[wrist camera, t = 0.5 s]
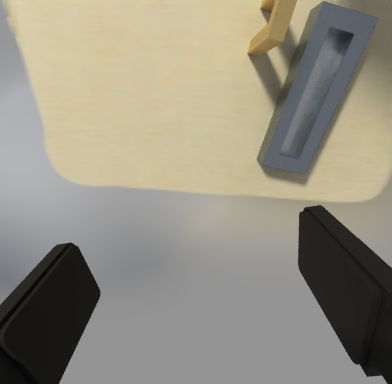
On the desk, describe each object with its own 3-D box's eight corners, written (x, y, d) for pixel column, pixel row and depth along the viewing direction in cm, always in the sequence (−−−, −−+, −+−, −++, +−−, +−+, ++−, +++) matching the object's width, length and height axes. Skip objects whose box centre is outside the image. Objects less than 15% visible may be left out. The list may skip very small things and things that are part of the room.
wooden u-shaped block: (264, -8, 27) (295, -54, 18) (276, -4, 27) (313, -48, 18) (247, 53, 29) (267, 37, 21) (258, 56, 30) (283, 41, 21)
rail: (310, 10, 27) (323, 0, 25) (360, 25, 28) (378, 18, 25) (256, 159, 35) (261, 164, 33) (296, 168, 36) (304, 174, 33)
